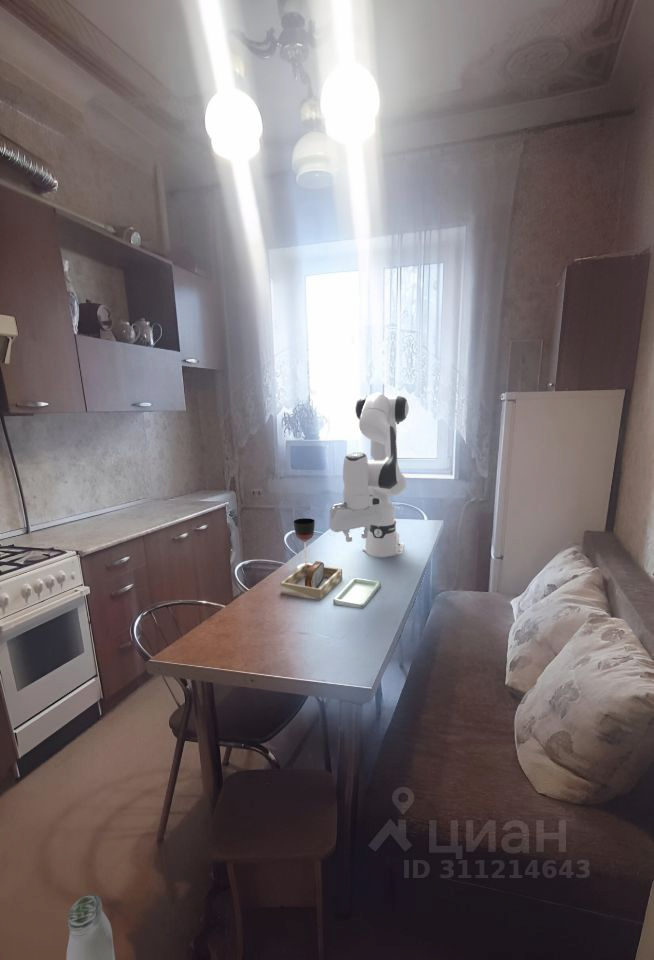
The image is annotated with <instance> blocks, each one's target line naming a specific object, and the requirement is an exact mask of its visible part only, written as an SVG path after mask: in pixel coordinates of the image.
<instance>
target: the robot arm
mask: <svg viewBox="0 0 654 960" xmlns="http://www.w3.org/2000/svg"><path fill="white" fill-rule="evenodd" d="M409 410H410V409H409V403H408V401H407V398H406V397H403V396H399V395H397V396H393V395H387V394H386V395H385V394H383V393H381V392H375V393H372V394H370V395H369V396H367V395H365V396H360V397H359V398H358V400H357V401H356V404H355V415H356V418H357V419H358V420H359V422H358V423H359V424H358V426H359V430H360V432H361V434H362V435H363V436H364V437H365V438H366V439H369V440H370V456H371V458H372V459H368V456H367V454H366V453H364V452H350V453H348V454H346V455H345V456H344V459H343V466H342V482H343V491H342V494H343V498H342V501H343V502H342V503H341V502H340V503H336V504H333V506H331V508H330V510H329V515H330V517H329V524H328V525H329V526H328V527H329V529H330V531H332V532H334V533H339V532H342V533H343V534H344V536H345V542H347V543H349V542H353V536H351V535H350V534H349V533H350V531H351V530H354V529H359V528H364V529H363V532H361V534H360V535H361V538H362V539H365V546H364V547H363V548H362V551H363V552H365V553H366V554H367V555H369V556H371V557H374V558H375V557H376V558H388V556H389V557H393V556H398V555H403V553H404V548H405V543H404V542H402V541H400V533H399V532H397V529H396V524H397V521H396V520H395V506H394V504H393V502H392V501H391V499H390V498H389V496H393V497H394V496H400V495H401V494H402V493H403V492H404V491H405V489H406V486H407V480H406V477H405V476H404V474H402V472H401V470H400V467H399V465H398V464H399V463H398V452H397V451H398V448H397V437H398V436H397V435H398V434H397V425H399V424H400V423H401V422H404V421H405V420H406V419H407V416H408V414H409Z"/></svg>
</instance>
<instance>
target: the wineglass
mask: <svg viewBox="0 0 654 960" xmlns="http://www.w3.org/2000/svg"><path fill="white" fill-rule="evenodd" d="M315 525H316V521H315V519H313V518H304V517H303V518H297V519H294V521H293V526H294V533H295V537H296V538H297V539H299V540H300V541H302V542H303V546H304V547H303V548H304V549H303V550H304V551H303V552H304V563H301V564H299V565H297V567H296V568H297V570H298V569H299V568H301V567H302V566H303V565H305V564H308V563H307V562H308V560H307V557H308V556H307V541H310V540H311V539H312V538H313V537H314V534H315V527H316V526H315ZM310 564H311V565H313V564H314V563H310Z"/></svg>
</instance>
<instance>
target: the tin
mask: <svg viewBox="0 0 654 960" xmlns="http://www.w3.org/2000/svg"><path fill="white" fill-rule="evenodd" d="M312 564H313V565H312V566H311V567H310V568H309V569H308V571H307V573H306V576H304V578H305V579H304V586H308V587H314V588H318V587H319V585H320V584H321V583H322V582H323V579H324V577H323V575H324V567H325V563H324V562H322V561H319V560H318V561H317V560H316V561H315V562H313V563H312Z"/></svg>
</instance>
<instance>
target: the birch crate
mask: <svg viewBox="0 0 654 960" xmlns="http://www.w3.org/2000/svg"><path fill="white" fill-rule="evenodd" d="M304 564H305V563H304ZM311 564H312V563H307V564H305V565H303V566H302V567H301V568H299V569H298V568H297V570H296V571H294V572H293V573H292V574H290V575H289V576H287V578H285V579H284V580H282V581H281V582H280V584H279V585H280V594H281V595H282V594H283V595H288V596H293V597H299V598H305V599H313V600H319V601H321V600H322V599H324V597H325V596H326V595H328V594H329V593H330V592H331V590H333V589H334V588H335V587H336V586H337V585H338V584H339V583H340V582H341V580H342V579H343V569H342V568H339V567H338V568H336V567H331V566H324V575H323V578H328V579H327V580H326V581H325V582H324V583H323V584H321V585H320V586H319V587H316V588H314V587H308V586H305V585H301V584H297V583H299V582H300V581H301V580H302V579H303V578H305V577H306V573H307V571H308V569H309V568H310V567H311V566H312V565H311Z"/></svg>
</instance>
